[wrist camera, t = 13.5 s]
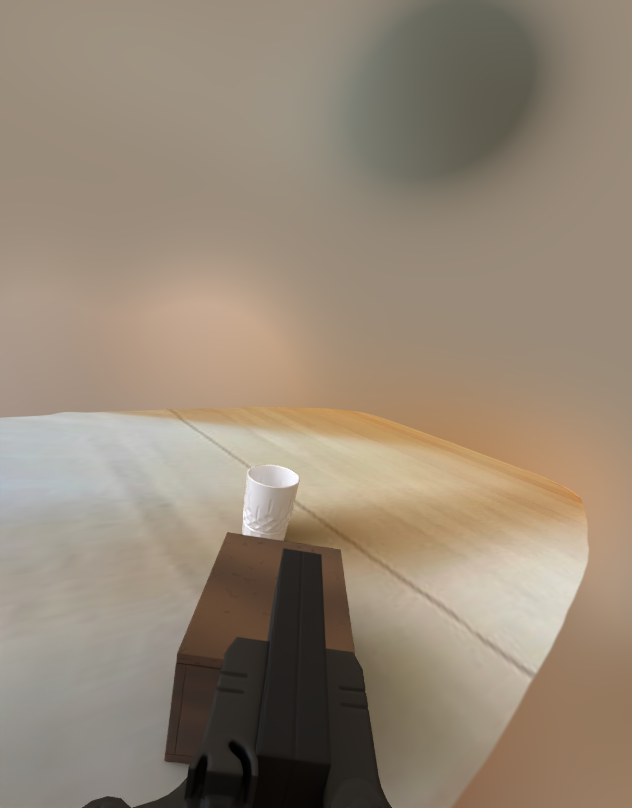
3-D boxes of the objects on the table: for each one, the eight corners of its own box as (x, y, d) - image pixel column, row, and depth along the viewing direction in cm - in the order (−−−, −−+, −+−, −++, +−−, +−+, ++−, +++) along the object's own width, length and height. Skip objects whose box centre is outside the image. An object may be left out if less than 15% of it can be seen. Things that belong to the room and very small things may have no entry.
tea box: (214, 613, 38) (224, 543, 36) (324, 628, 39) (339, 561, 37) (164, 760, 25) (175, 663, 23) (332, 780, 26) (355, 687, 24)
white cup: (296, 530, 57) (307, 474, 55) (275, 557, 49) (287, 493, 47) (253, 515, 59) (262, 460, 57) (227, 538, 51) (236, 476, 49)
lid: (226, 538, 37) (227, 532, 37) (339, 555, 38) (340, 549, 38) (175, 663, 23) (177, 653, 23) (356, 687, 24) (358, 677, 24)
